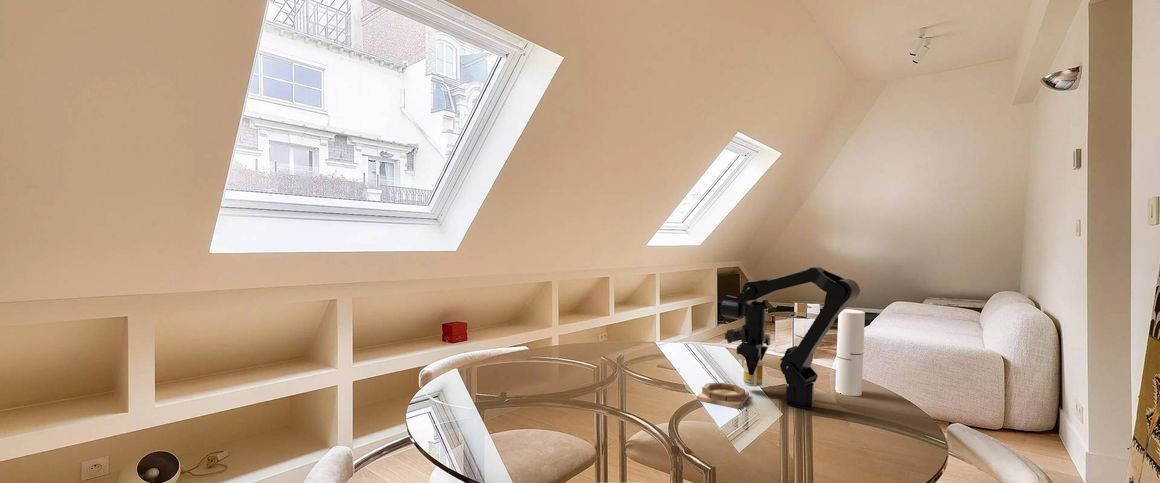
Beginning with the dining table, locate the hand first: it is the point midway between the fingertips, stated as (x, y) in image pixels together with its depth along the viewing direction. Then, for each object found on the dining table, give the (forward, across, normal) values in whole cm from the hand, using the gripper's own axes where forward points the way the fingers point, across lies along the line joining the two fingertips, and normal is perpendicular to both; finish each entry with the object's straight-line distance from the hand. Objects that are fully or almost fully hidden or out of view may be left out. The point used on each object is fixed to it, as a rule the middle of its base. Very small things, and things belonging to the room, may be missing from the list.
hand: (753, 372), depth 157 cm
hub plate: (+6, +11, -6) cm, 14 cm away
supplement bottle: (+4, 0, 0) cm, 4 cm away
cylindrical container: (+6, -16, +25) cm, 30 cm away
